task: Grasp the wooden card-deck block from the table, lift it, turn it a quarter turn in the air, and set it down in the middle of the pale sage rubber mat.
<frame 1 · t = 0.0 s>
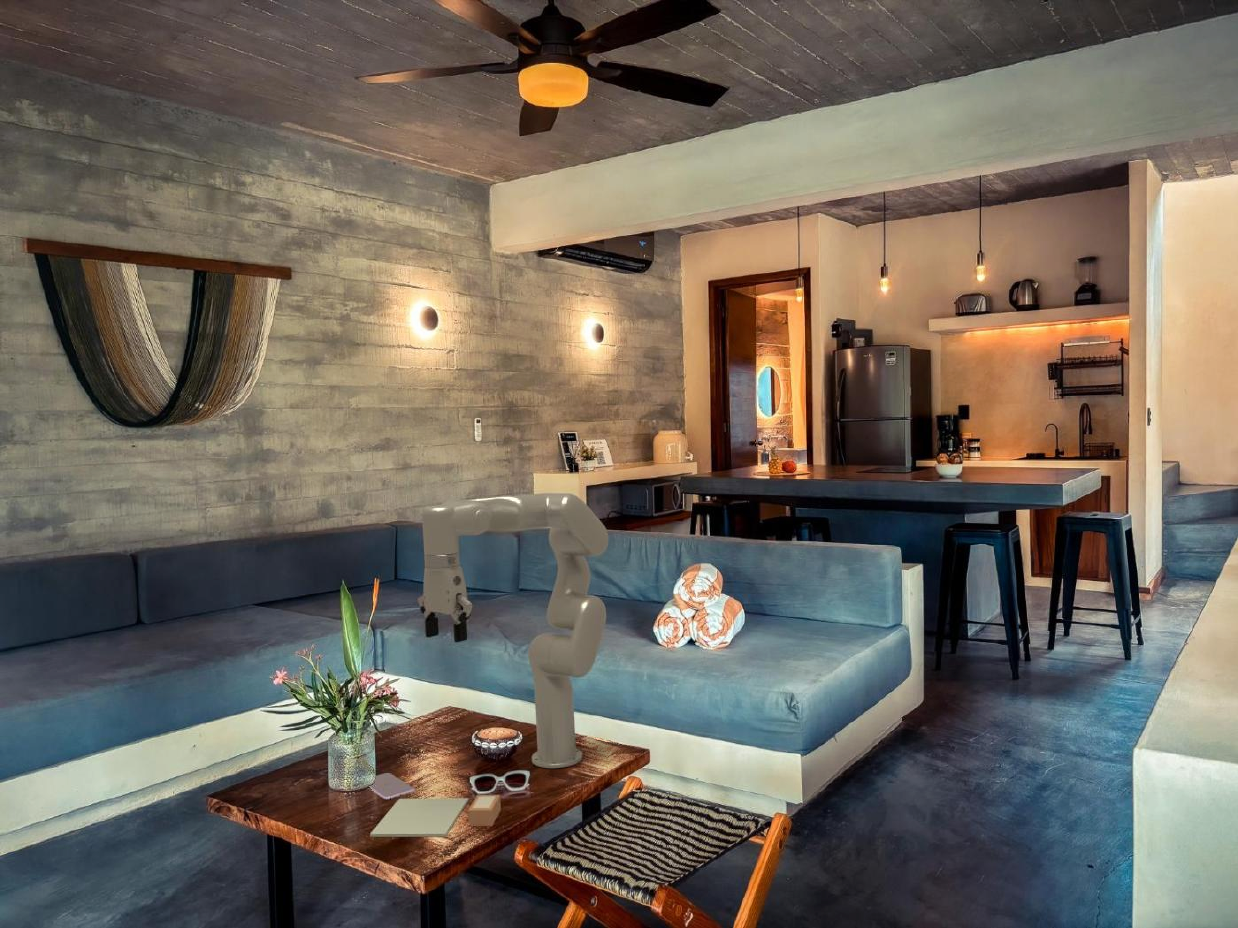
hand: (446, 638, 204), 37 cm above the table, tool pointing down, fingers open, 9 cm apart
mobile phone: (387, 788, 218), on the table
deck block: (485, 818, 198), on the table
play mat: (421, 817, 199), on the table
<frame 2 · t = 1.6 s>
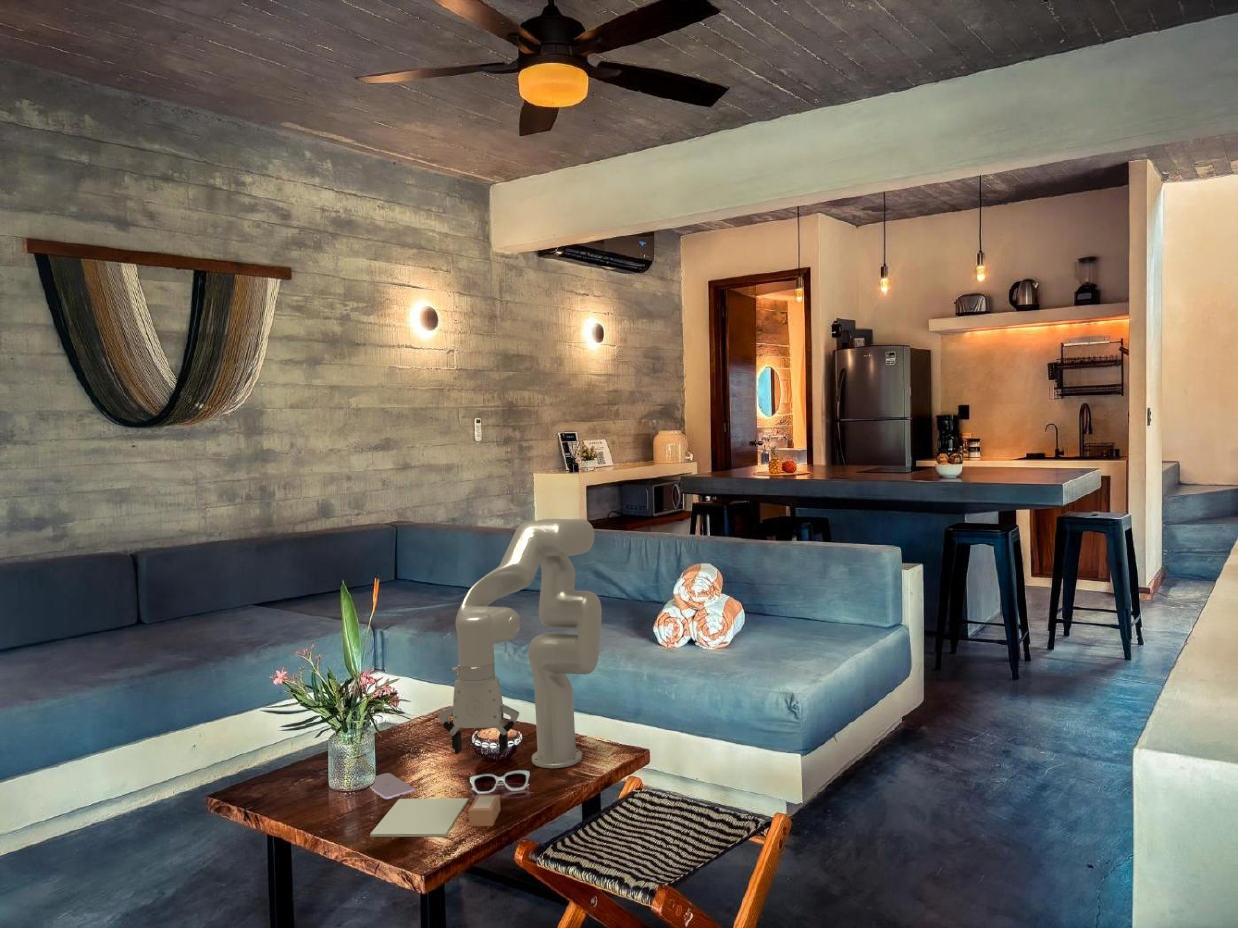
hand: (480, 751, 197), 14 cm above the table, tool pointing down, fingers open, 9 cm apart
nothing on the table moved.
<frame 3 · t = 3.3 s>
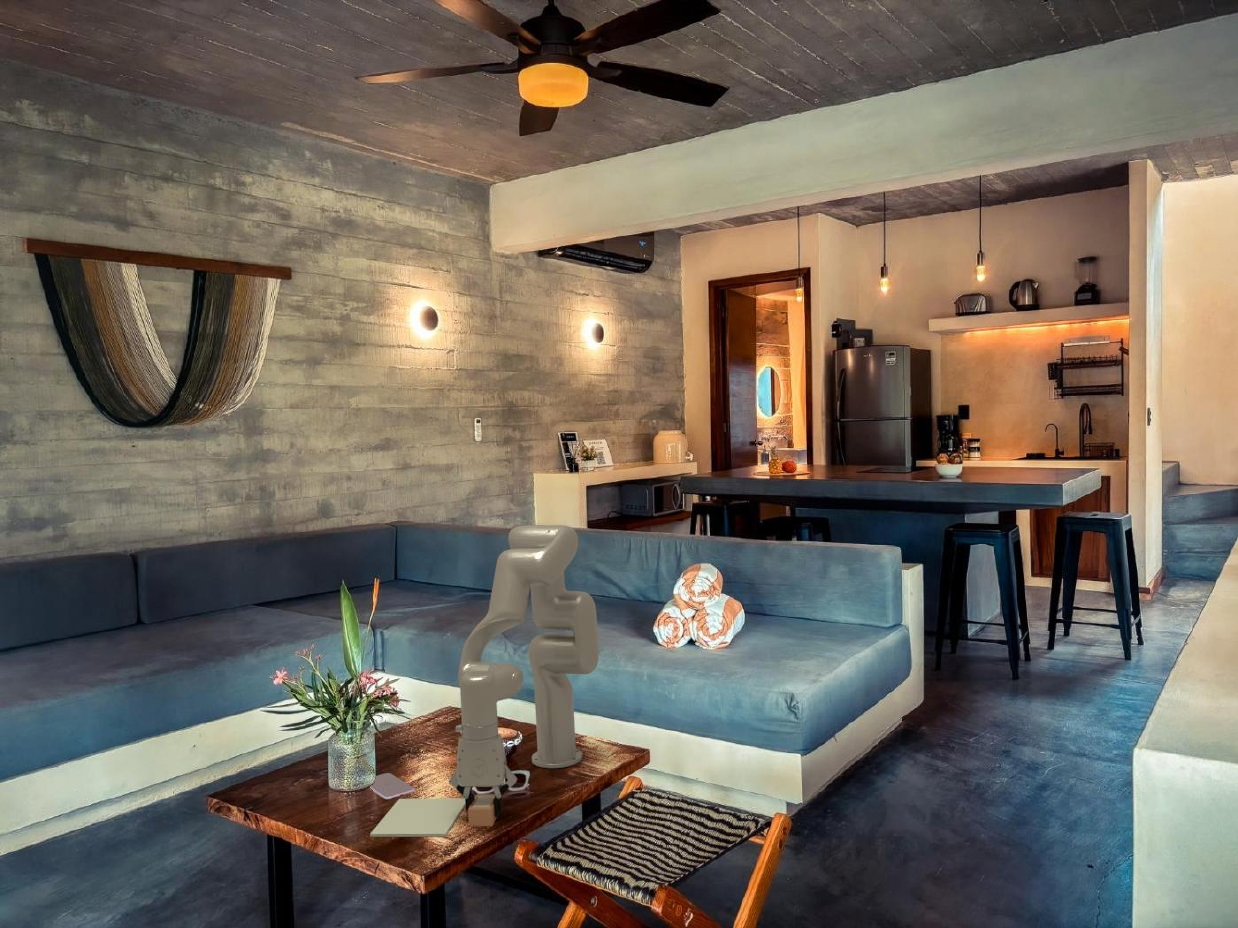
hand: (484, 813, 198), 1 cm above the table, tool pointing down, fingers closed on deck block, 5 cm apart
deck block: (484, 818, 198), on the table, touching gripper
everything else where it was.
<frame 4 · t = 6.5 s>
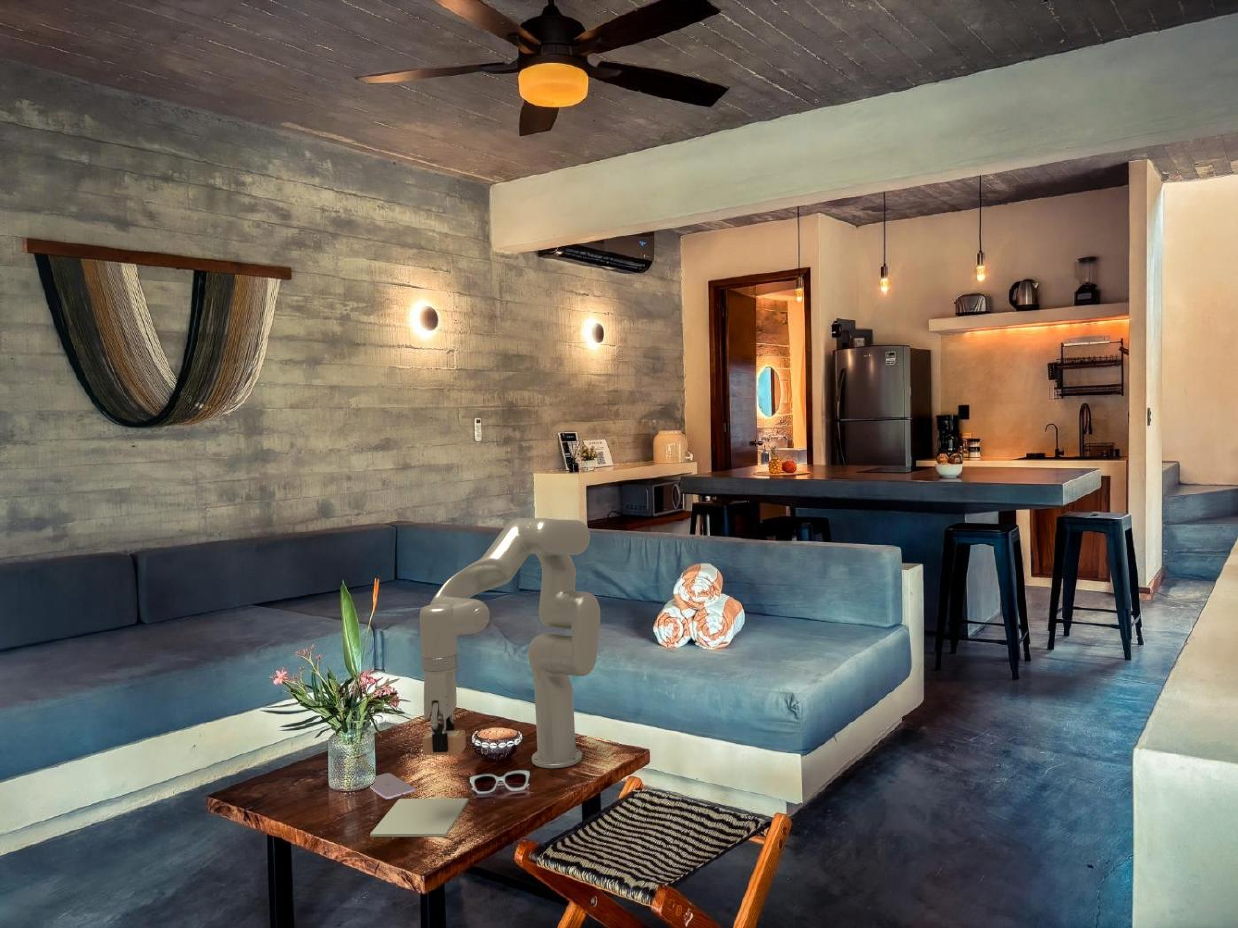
hand: (444, 746, 198), 16 cm above the table, tool pointing down, fingers closed on deck block, 5 cm apart
deck block: (444, 750, 198), point 15 cm above the table, touching gripper
everything else where it was.
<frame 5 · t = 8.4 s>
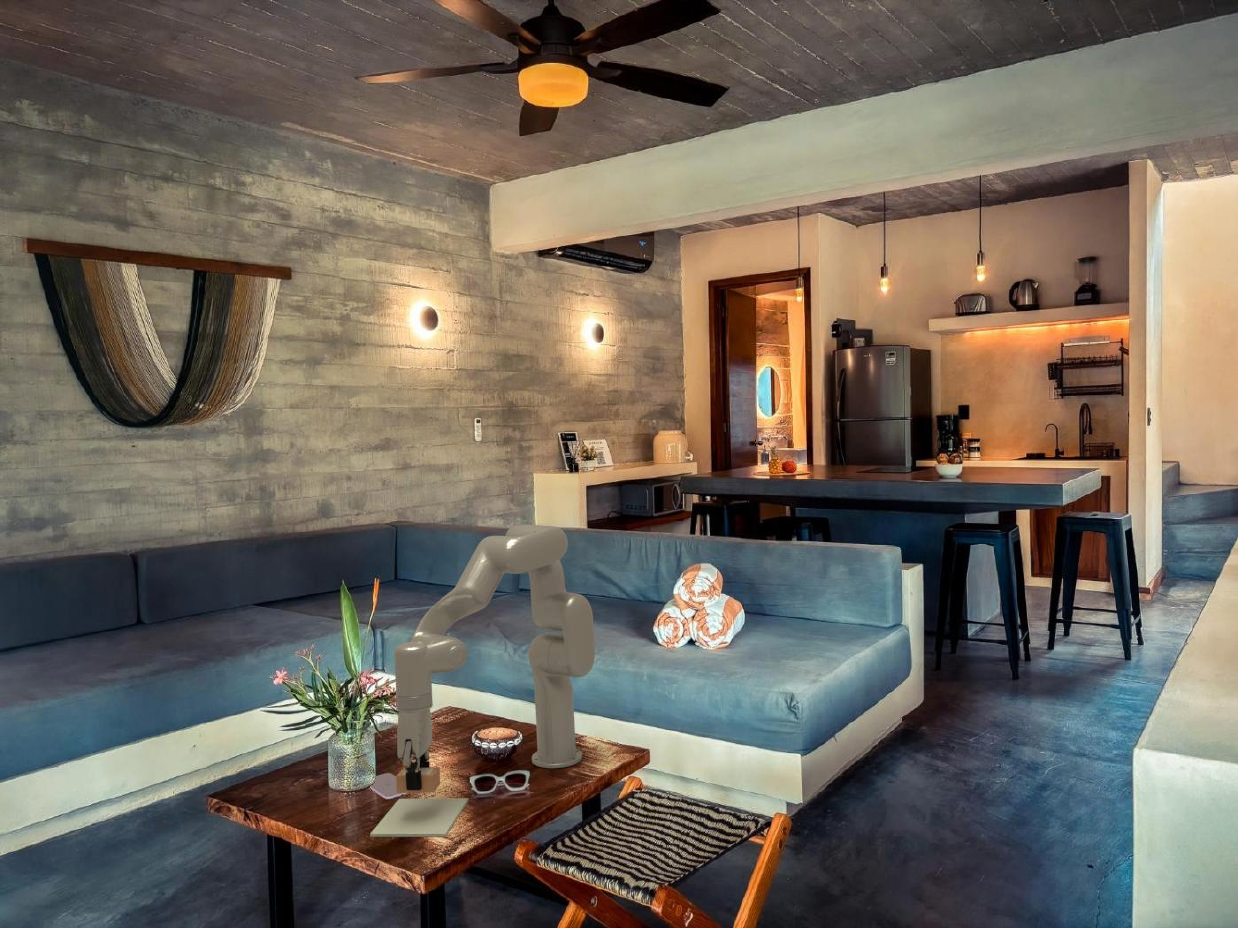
hand: (418, 783, 199), 8 cm above the table, tool pointing down, fingers closed on deck block, 5 cm apart
deck block: (418, 788, 199), point 7 cm above the table, touching gripper
everything else where it was.
when the fingers open (3 cm above the table, at t = 9.7 s): deck block drops 1 cm, resting on play mat.
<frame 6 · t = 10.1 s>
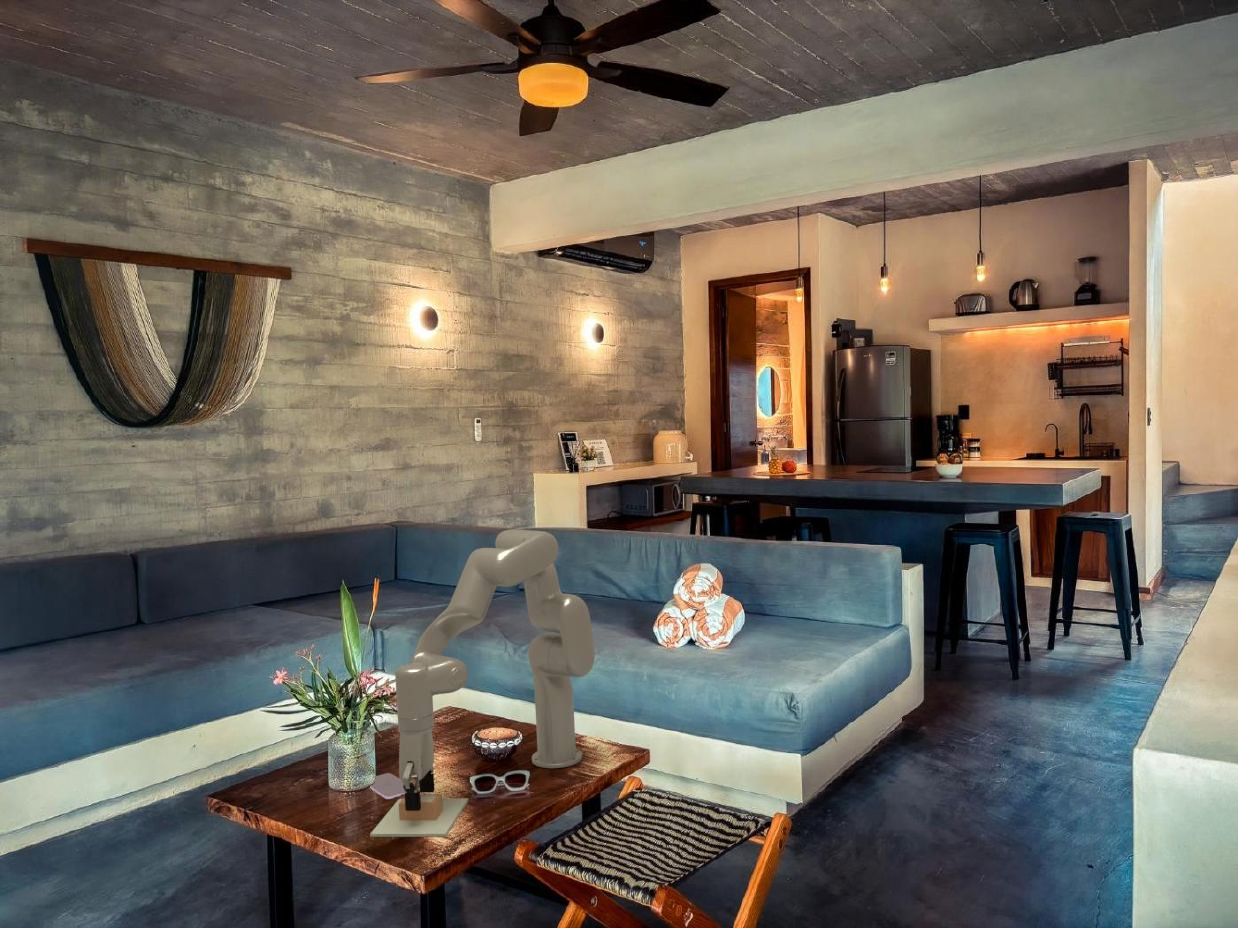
hand: (420, 800, 199), 4 cm above the table, tool pointing down, fingers open, 9 cm apart
deck block: (421, 815, 199), point 1 cm above the table, touching play mat
everything else where it was.
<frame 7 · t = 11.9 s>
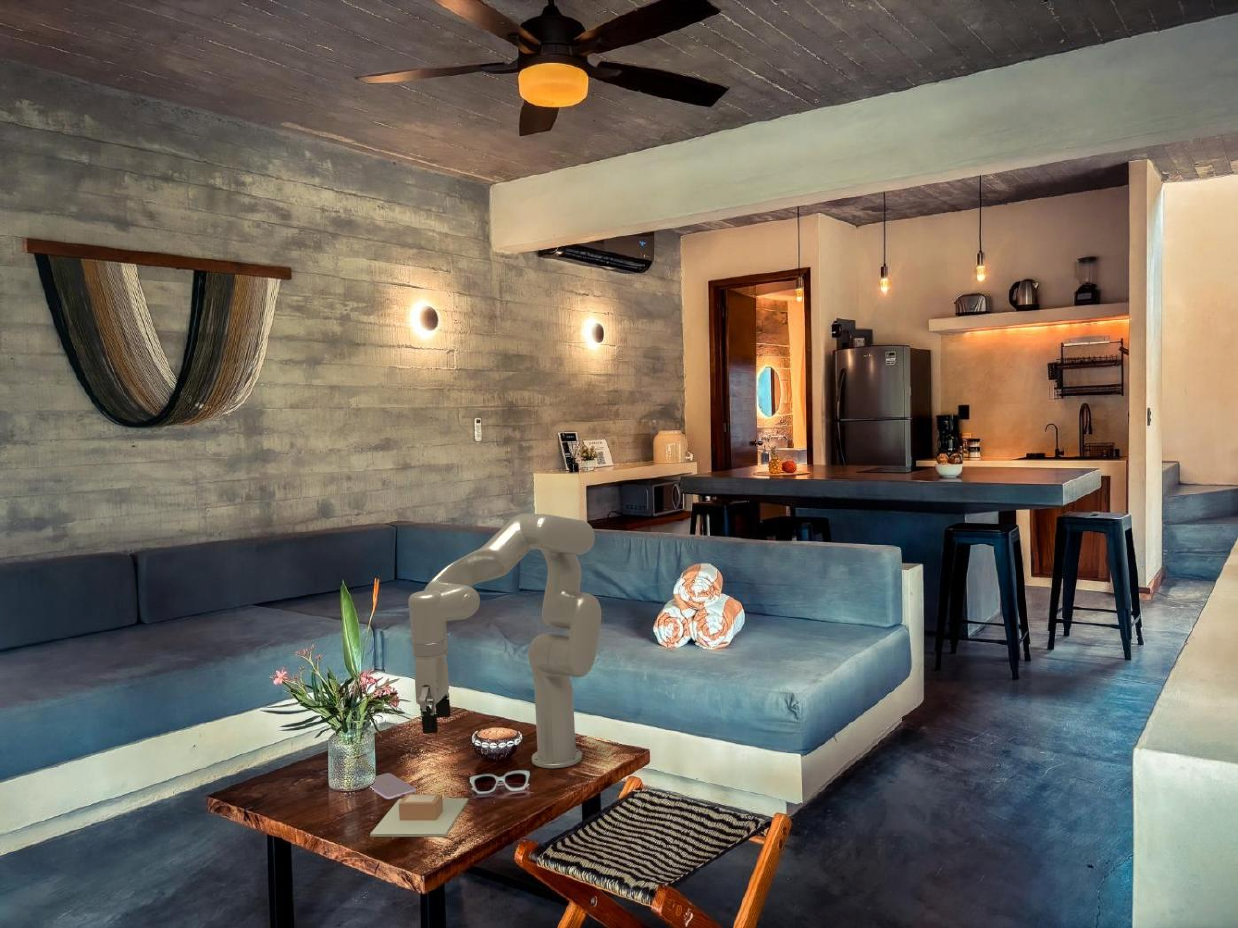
hand: (437, 724, 202), 19 cm above the table, tool pointing down, fingers open, 9 cm apart
nothing on the table moved.
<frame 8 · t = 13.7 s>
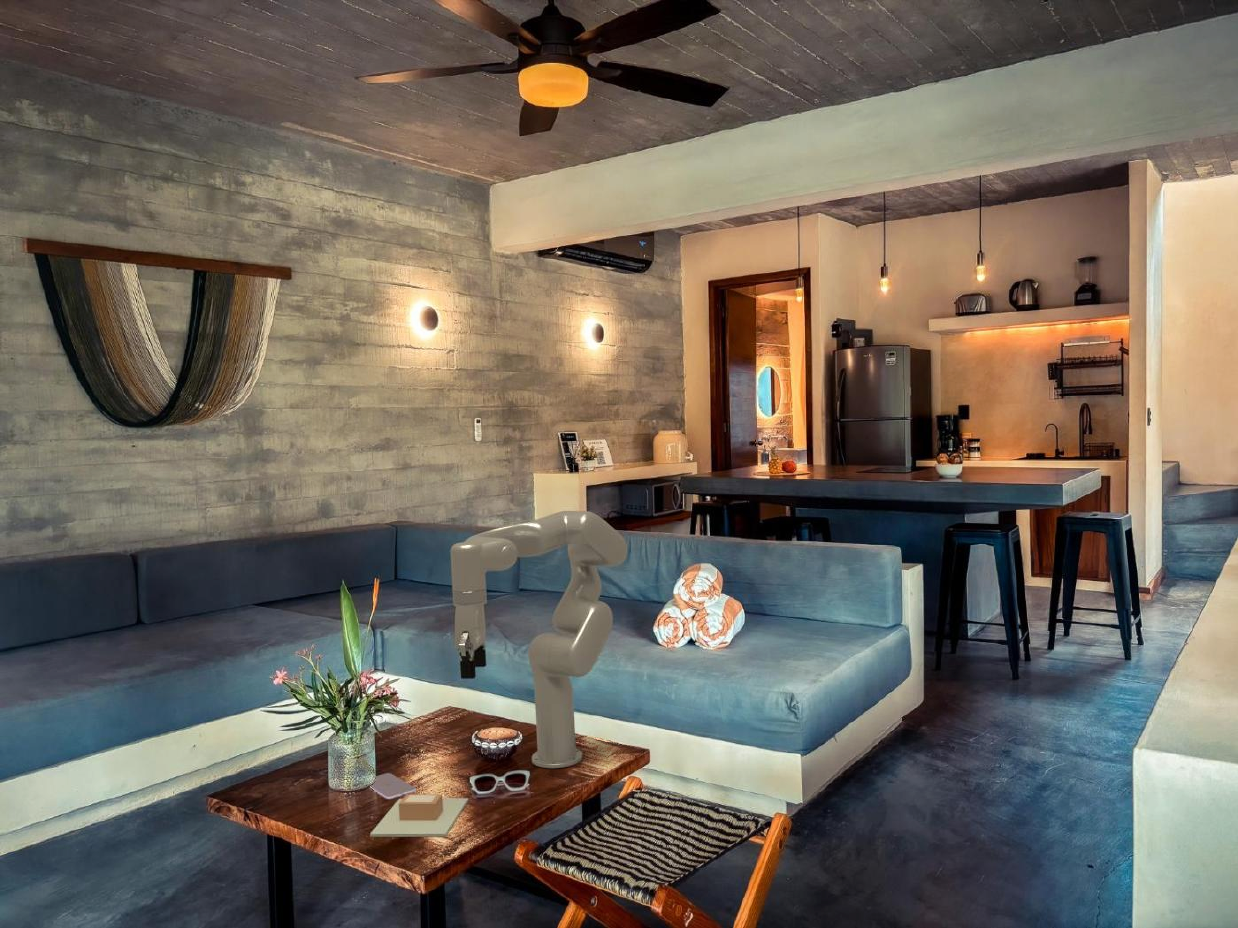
hand: (473, 672, 209), 28 cm above the table, tool pointing down, fingers open, 9 cm apart
nothing on the table moved.
at the end: deck block inside the target area on the play mat (0.1 cm from its centre), point 0.6 cm above the play mat's base; deck block tilted 0°; the gripper is holding nothing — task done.
